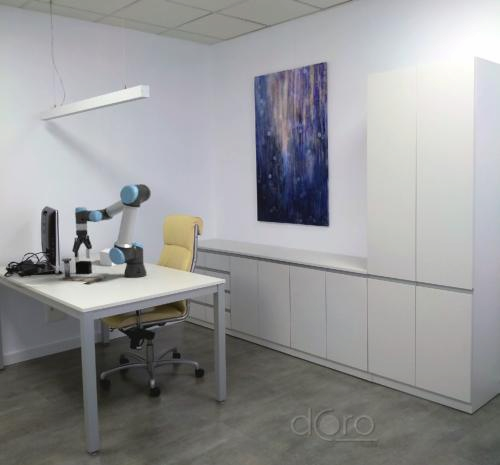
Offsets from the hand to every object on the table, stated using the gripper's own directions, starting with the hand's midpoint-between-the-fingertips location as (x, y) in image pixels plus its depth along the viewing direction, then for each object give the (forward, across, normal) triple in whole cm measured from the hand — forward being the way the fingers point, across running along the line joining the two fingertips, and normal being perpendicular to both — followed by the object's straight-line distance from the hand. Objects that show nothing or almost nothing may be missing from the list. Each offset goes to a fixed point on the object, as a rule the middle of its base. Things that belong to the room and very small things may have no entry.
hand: (82, 259), depth 374 cm
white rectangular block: (+12, -48, -7) cm, 50 cm away
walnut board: (+11, +18, +8) cm, 22 cm away
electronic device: (+11, 0, +1) cm, 11 cm away
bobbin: (+9, +18, 0) cm, 20 cm away
